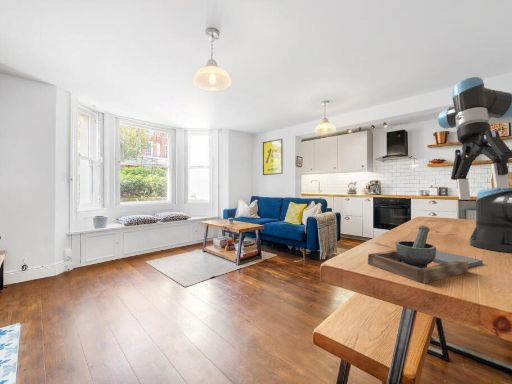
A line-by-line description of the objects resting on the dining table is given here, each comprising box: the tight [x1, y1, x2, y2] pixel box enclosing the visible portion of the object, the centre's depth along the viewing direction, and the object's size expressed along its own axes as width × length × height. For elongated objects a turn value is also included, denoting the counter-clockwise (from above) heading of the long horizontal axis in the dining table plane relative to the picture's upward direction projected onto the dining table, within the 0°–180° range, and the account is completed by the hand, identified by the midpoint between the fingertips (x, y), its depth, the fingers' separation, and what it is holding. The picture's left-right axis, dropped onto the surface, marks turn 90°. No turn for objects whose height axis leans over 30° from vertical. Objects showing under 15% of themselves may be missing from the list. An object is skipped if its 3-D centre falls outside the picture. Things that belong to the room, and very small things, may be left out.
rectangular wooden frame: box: [367, 249, 469, 285], centre depth 70 cm, size 20×16×3 cm
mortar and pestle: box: [395, 225, 437, 269], centre depth 69 cm, size 11×9×12 cm
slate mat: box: [432, 249, 483, 268], centre depth 78 cm, size 12×14×1 cm
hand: (481, 194), depth 68 cm, fingers open, 13 cm apart
